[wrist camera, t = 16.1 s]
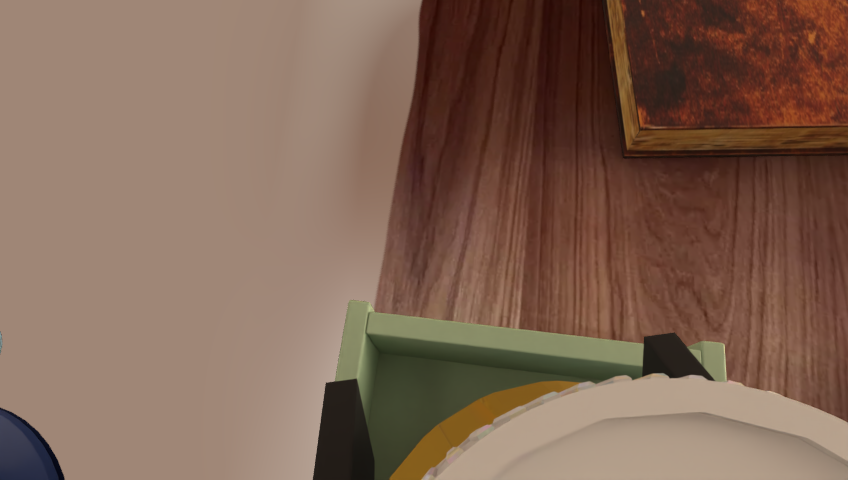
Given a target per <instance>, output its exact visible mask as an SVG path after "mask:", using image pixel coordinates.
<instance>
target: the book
mask: <svg viewBox="0 0 848 480" xmlns="http://www.w3.org/2000/svg"><path fill="white" fill-rule="evenodd" d="M602 4H603V11H604V19H605V26H606V34H607V41H608V49H609V56H610V64H611V71H612V78H613V86H614V93H615V101H616V108H617V116H618V123H619V131H620V138H621V146H622V153H623V158H671V157H741V156H811V155H848V0H602Z"/></svg>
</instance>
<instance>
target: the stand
mask: <svg viewBox="0 0 848 480" xmlns="http://www.w3.org/2000/svg"><path fill="white" fill-rule="evenodd" d="M687 348H688V349H689V350H690V351H691V353H692V354H693V355H694V356H695V357H696V358H697V360H698V361H699V362H700V363H701V364H702V366H703V367H704V368H705V369H706V370H707V372H708V373H709V374H710V375H711V376H712V377H713V379H714V380H715V381H717V382H725V381H726V362H725V345H724V344H723V343H717V342H709V341H701V342H698V343H696V344H693V345H691V346H688V347H687ZM643 349H644V344H642V343H633V342H625V341H616V340H608V339H599V338H591V337H582V336H574V335H565V334H557V333H548V332H540V331H531V330H523V329H514V328H506V327H497V326H489V325H480V324H472V323H463V322H455V321H446V320H438V319H429V318H421V317H412V316H404V315H395V314H387V313H378V312H375V311H374V309H373V307H372V306H371V304H370V303H369V302H364V301H356V300H350V301H349V303H348V309H347V314H346V320H345V326H344V332H343V337H342V343H341V349H340V354H339V360H338V366H337V371H336V378H335V381H342V380H349V379H356V378H357V381H358V386H359V390H360V395H361V400H362V404H363V409H364V414H365V418H366V423H367V427H368V432H369V437H370V441H371V446H372V451H373V455H374V460H375V479H374V480H389V479H390V477H391V475H392V474H393V473H394V471H395V470H396V469H397V468H398V467H399V465H400V464H401V463H402V462H403V461H404V459H405V458H406V457H407V456H408V455H409V453H410V452H411V451H412V450H413V449H414V447H415V446H416V445H417V444H418V443H419V441H420V440H421V439H422V438H423V436H425V435H426V434H427V433H428V432H429V431H430V430H431V429H433V428H434V427H435V426H436V425H437V424H439V423H440V422H442V421H444V420H445V419H447V418H448V417H450V416H452V415H453V414H455V413H456V412H458V411H460V410H461V409H463V408H464V407H466V406H467V405H469V404H471V403H472V402H474V401H475V400H478V399H480V398H482V397H485V396H487V395H489V394H492V393H494V392H499V391H503V390H507V389H511V388H516V387H520V386H524V385H528V384H533V383H537V382H543V381H568V382H579V383H584V382H588V381H590V382H593V383H595V384H598V383H600V382H603V381H605V380H608V379H610V378H613V377H615V376H623V375H627V376H629V377H630V378H632V380H635V379H638V378H641V377H642V367H643Z"/></svg>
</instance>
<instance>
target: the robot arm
mask: <svg viewBox="0 0 848 480" xmlns="http://www.w3.org/2000/svg"><path fill="white" fill-rule="evenodd" d="M1 348H2V335H1V332H0V353H1ZM653 373H664V374H665V375H667V376H669V378H681V377H685V376H688V375H697V376H703V377H704V378H705V379H707V380H708V381H715V380H714V379H713V377H712V376H711V375H710V374H709V373H708V372H707V370H706V369H705V368H704V367H703V366H702V364H701V363H700V362H699V361H698V360H697V358H696V357H695V356H694V355H693V354H692V353H691V351H690V350H689V349H688V348H687V347H686V345H685V344H684V343H683V342H682V341H681V339H680V338H679V337H678V336H677V335H676V334H675V333H668V334H661V335H654V336H647V337H644V349H643V367H642V377H644V376H647V375H650V374H653ZM374 479H375V460H374V455H373V451H372V446H371V441H370V437H369V432H368V427H367V423H366V418H365V414H364V409H363V404H362V400H361V395H360V390H359V386H358V381H357V378H356V379H349V380H342V381H335V382H329V383H326V386H325V394H324V401H323V409H322V416H321V424H320V431H319V438H318V446H317V454H316V461H315V468H314V476H313V480H374Z"/></svg>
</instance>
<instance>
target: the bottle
mask: <svg viewBox="0 0 848 480" xmlns="http://www.w3.org/2000/svg"><path fill="white" fill-rule="evenodd" d="M389 480H848V422H846V421H844V420H842V419H840V418H837V417H835V416H833V415H831V414H828V413H826V412H824V411H821V410H819V409H817V408H814V407H812V406H809V405H806V404H804V403H801V402H799V401H796V400H793V399H790V398H786V397H783V396H781V395H780V394H778V393H775V392H772V391H769V390H768V391H763V390H759V389H755V388H750V387H745V386H744V385H743V384H741V383H739V382H734V381H730V380H729V381H725V382H717V381H708V380H707V379H705V378H704V377H703V376H697V375H688V376H685V377H681V378H669V376H667V375H665V374H664V373H653V374H650V375H647V376H644V377H641V378H638V379H635V380H632V378H630V377H629V376H627V375H623V376H615V377H613V378H610V379H608V380H605V381H603V382H600V383H598V384H595V383H593V382H590V381H588V382H584V383H579V382H568V381H543V382H537V383H533V384H528V385H524V386H520V387H516V388H511V389H507V390H503V391H499V392H494V393H492V394H489V395H487V396H485V397H482V398H480V399H478V400H475V401H474V402H472V403H471V404H469V405H467V406H466V407H464V408H463V409H461V410H460V411H458V412H456V413H455V414H453V415H452V416H450V417H448V418H447V419H445V420H444V421H442V422H440V423H439V424H437V425H436V426H435V427H434V428H433V429H431V430H430V431H429V432H428V433H427V434H426V435H425V436H423V438H422V439H421V440H420V441H419V443H418V444H417V445H416V446H415V447H414V449H413V450H412V451H411V452H410V453H409V455H408V456H407V457H406V458H405V459H404V461H403V462H402V463H401V464H400V465H399V467H398V468H397V469H396V470H395V471H394V473H393V474H392V475H391V477H390V479H389Z"/></svg>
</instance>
